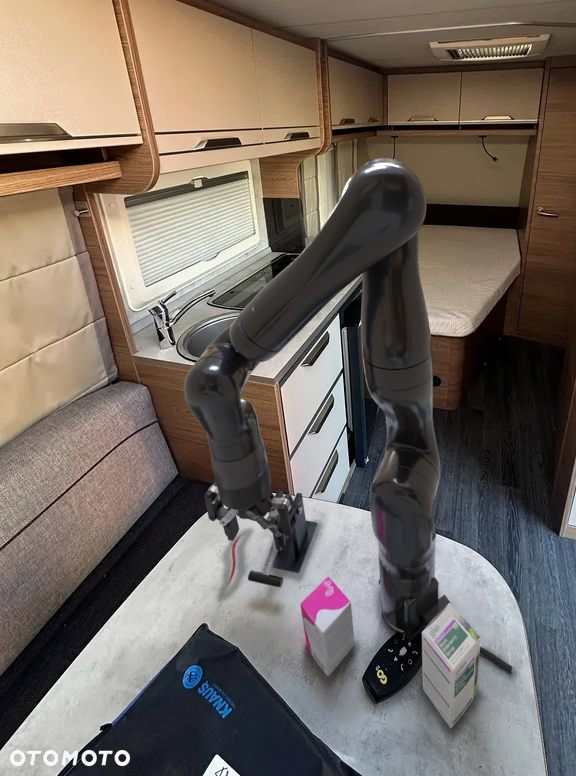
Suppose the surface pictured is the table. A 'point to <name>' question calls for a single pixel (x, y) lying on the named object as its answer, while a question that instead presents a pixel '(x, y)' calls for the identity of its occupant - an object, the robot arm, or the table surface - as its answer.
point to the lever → (267, 571)
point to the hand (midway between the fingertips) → (257, 540)
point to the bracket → (295, 539)
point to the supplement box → (328, 625)
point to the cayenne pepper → (233, 559)
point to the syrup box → (450, 663)
